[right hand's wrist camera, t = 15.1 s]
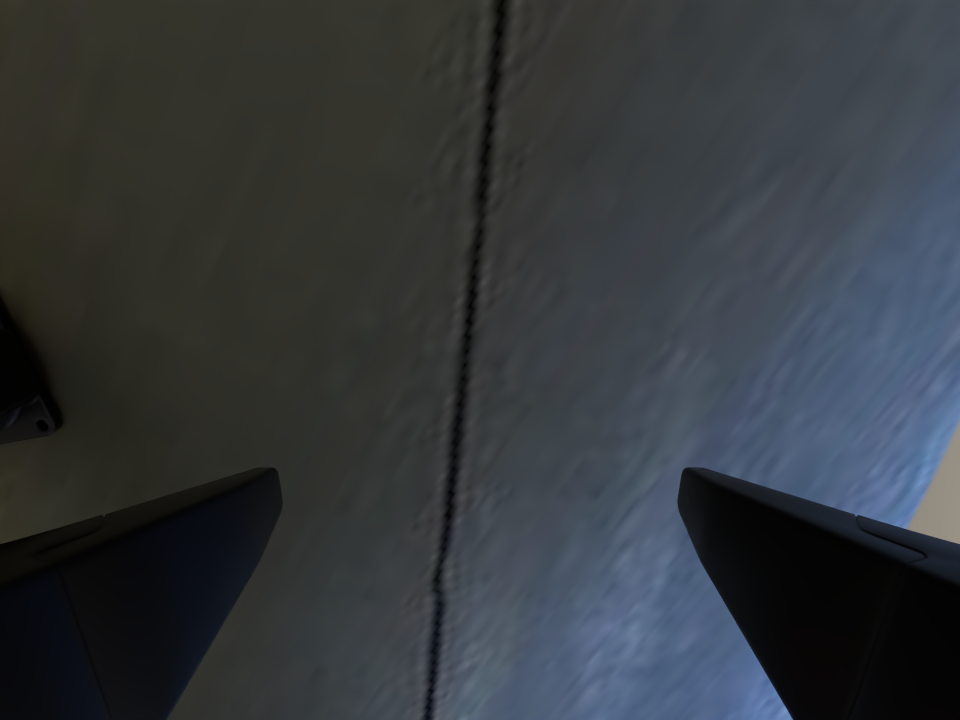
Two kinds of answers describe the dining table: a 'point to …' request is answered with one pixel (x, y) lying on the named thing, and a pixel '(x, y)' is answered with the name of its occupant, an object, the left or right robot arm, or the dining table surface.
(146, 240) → the dining table surface
